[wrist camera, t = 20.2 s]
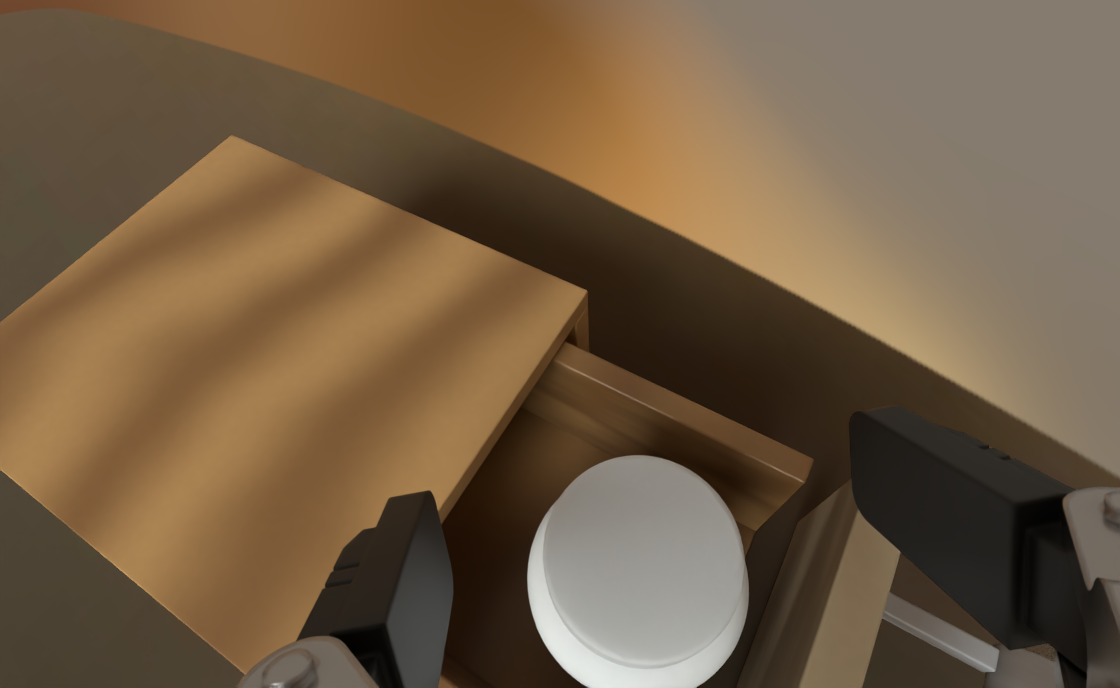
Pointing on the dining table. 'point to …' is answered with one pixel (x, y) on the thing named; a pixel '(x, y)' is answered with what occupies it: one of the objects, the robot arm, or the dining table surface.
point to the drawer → (751, 496)
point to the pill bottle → (639, 577)
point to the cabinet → (265, 384)
